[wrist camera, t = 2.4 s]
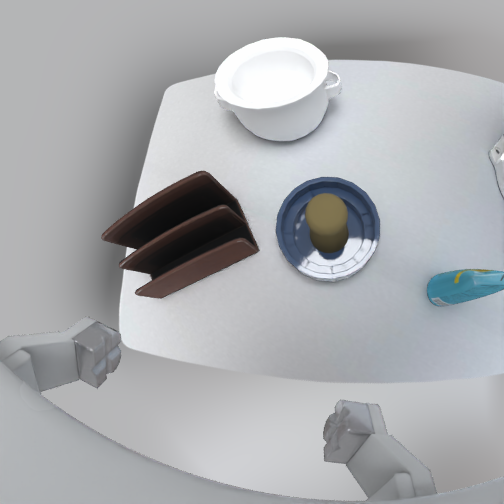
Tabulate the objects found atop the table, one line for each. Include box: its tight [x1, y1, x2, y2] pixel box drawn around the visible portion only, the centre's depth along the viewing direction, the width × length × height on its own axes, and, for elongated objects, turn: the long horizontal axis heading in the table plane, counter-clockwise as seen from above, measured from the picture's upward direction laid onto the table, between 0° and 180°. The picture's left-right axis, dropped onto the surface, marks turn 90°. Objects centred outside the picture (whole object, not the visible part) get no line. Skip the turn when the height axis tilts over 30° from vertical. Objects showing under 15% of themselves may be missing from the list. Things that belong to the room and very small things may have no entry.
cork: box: [305, 193, 349, 253], centre depth 37 cm, size 6×6×11 cm
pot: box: [214, 37, 342, 141], centre depth 43 cm, size 22×17×12 cm
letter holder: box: [101, 171, 259, 298], centre depth 42 cm, size 10×20×14 cm, turn 113°
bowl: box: [276, 177, 380, 282], centre depth 40 cm, size 14×14×5 cm
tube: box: [427, 269, 504, 306], centre depth 27 cm, size 7×5×19 cm, turn 91°
